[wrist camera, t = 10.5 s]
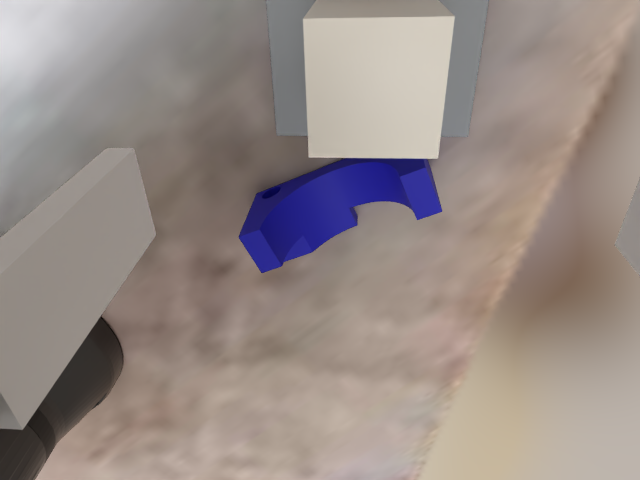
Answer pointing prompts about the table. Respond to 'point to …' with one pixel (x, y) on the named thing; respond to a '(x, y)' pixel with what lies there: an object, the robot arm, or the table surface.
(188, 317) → the table surface
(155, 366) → the table surface
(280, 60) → the board
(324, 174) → the blue arched piece
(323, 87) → the cream rectangular block
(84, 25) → the table surface
